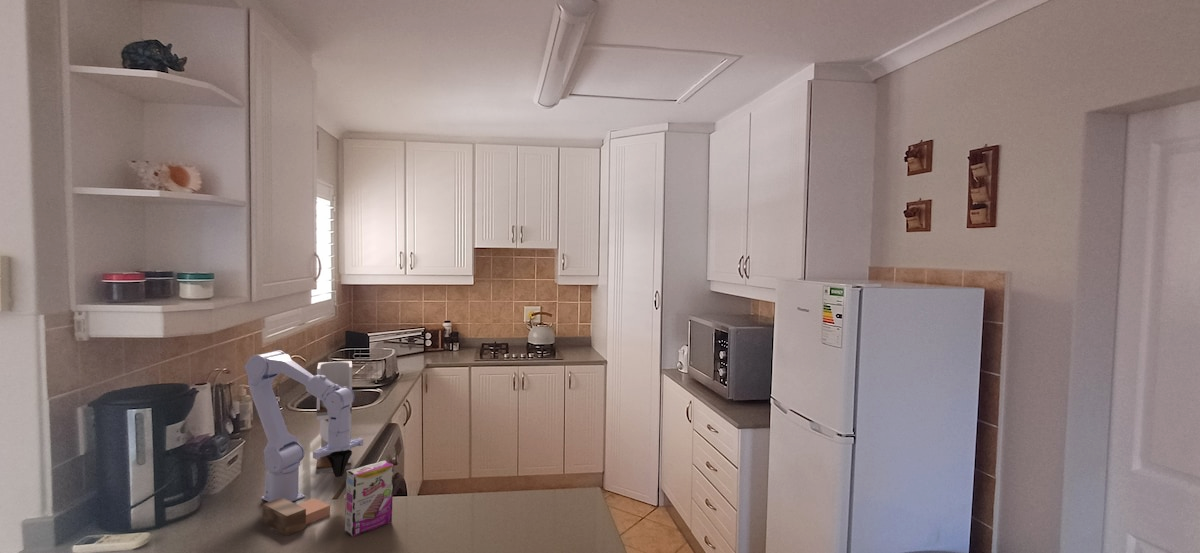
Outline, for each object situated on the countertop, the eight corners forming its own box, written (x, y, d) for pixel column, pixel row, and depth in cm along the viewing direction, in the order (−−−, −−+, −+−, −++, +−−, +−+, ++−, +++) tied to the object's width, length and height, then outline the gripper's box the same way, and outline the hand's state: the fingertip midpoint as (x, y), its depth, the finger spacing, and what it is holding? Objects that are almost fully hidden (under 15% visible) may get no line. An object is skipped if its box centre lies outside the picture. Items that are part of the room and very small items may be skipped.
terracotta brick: (289, 518, 151) (289, 507, 151) (313, 508, 157) (313, 498, 157) (305, 525, 147) (305, 515, 147) (330, 515, 153) (330, 505, 153)
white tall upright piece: (317, 461, 192) (318, 362, 191) (350, 457, 196) (351, 360, 195) (315, 473, 182) (317, 368, 180) (350, 468, 186) (352, 366, 185)
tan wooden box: (262, 522, 147) (262, 503, 147) (281, 515, 152) (281, 497, 151) (286, 535, 141) (286, 516, 141) (305, 528, 145) (305, 508, 145)
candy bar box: (353, 538, 141) (354, 475, 140) (344, 531, 144) (344, 470, 144) (393, 522, 150) (394, 463, 149) (383, 516, 153) (384, 459, 152)
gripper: (323, 439, 150) (322, 487, 151) (369, 426, 163) (369, 471, 163) (308, 434, 154) (308, 481, 155) (355, 422, 166) (354, 466, 167)
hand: (338, 476), depth 159 cm, fingers closed
